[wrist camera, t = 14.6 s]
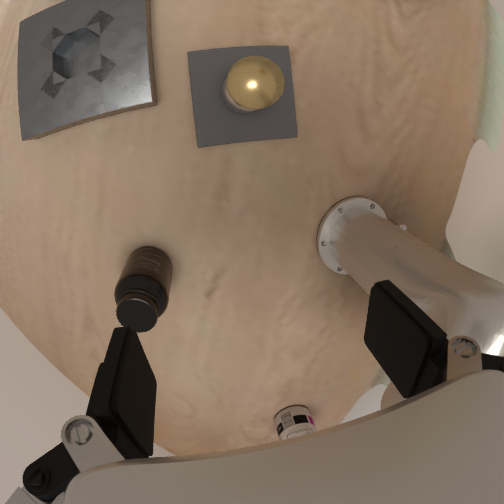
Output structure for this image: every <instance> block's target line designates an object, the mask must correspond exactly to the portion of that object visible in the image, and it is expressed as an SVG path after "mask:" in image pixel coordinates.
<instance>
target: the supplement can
mask: <svg viewBox="0 0 504 504" xmlns="http://www.w3.org/2000/svg"><path fill="white" fill-rule="evenodd" d="M275 425H276V429H277V432H278V436H279V439H280V440H285V439H289V438H293V437H297V436H301V435H305V434H309V433H312V432H316V431H317V430H316V427H315V425H314V422H313V420H312V417H311V415H310V412H309V410H308V409H307V408H305V407H302V406H292V407H288V408H286V409H284V410H282V411H281V412H279V413H278V415H277V416H276V418H275Z"/></svg>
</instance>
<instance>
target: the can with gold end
mask: <svg viewBox="0 0 504 504" xmlns="http://www.w3.org/2000/svg"><path fill="white" fill-rule="evenodd" d="M284 86H285V81H284V76H283V73H282V71H281V69H280V68H279V67H278V65H277V64H275V63H274V62H273V61H272V60H270V59H268V58H265V57H262V56H248V57H244V58H242V59H240V60H238V61H237V62H236V63H235V64H234V65H233V66H232V67H231V69H230V71H229V73H228V75H227V78H226V79H225V81H224V83H223V85H222V88H221V98H222V101H223V103H224V104H225V106H226V107H227V108H228V109H230V110H231V111H233V112H236V113H240V114H246V113H251V112H253V111H256V110H258V109H263V108H266V107H269V106H271V105H273V104H274V103H275V102H277V101H278V100H279V98H280V97H281V95H282V93H283V91H284Z"/></svg>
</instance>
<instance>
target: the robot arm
mask: <svg viewBox="0 0 504 504" xmlns="http://www.w3.org/2000/svg"><path fill="white" fill-rule="evenodd" d="M338 209H339V210H338ZM322 241H323V242H322ZM321 242H322V243H321ZM317 249H318V253H319V256H320V258H321V259H322V261H323V262H324V264H325V265H326V266H327V267H328V268H329V269H331V270H332V271H334V272H336V273H338V274H343V275H350V276H351V277H352V278H353V279H354V280H355V281H356V282H357V284H358V285H359V286H360V287H361V288H362V289H363V290H364V291H365V292H366V293H367V294H368V295H369V296H370V299H369V307H368V314H367V321H366V328H365V334H364V341H365V344H366V346H367V347H368V349H369V350H370V351H371V353H372V354H373V356H374V357H375V358H376V360H377V361H378V363H379V364H380V365H381V367H382V368H383V370H384V371H385V373H386V374H387V375H388V377H389V378H390V380H391V382H390V384H389V385H388V387H387V388H386V390H385V392H384V394H383V396H382V400H381V410H379V411H376V412H374V413H372V414H369V415H366V416H363V417H360V418H357V419H354V420H351V421H349V422H345V423H342V424H339V425H336V426H333V427H330V428H326V429H323V430H319V431H316V432H312V433H309V434H305V435H301V436H297V437H293V438H289V439H285V440H280V441H276V442H271V443H266V444H261V445H256V446H251V447H245V448H239V449H233V450H226V451H219V452H211V453H202V454H193V455H183V456H171V457H154V458H149V456H152V455H153V439H154V418H155V402H156V389H157V383H156V378H155V376H154V374H153V371H152V369H151V367H150V365H149V362H148V360H147V358H146V355H145V353H144V350H143V348H142V345H141V343H140V340H139V338H138V335H137V333H136V331H135V330H131V328H130V327H129V326H126V327H118V328H115V329H114V331H113V334H112V337H111V340H110V343H109V346H108V350H107V353H106V356H105V359H104V362H102V363H101V364H100V366H99V368H98V372H97V375H96V378H95V382H94V385H93V389H92V393H91V396H90V400H89V404H88V408H87V412H86V415H79V416H75V417H73V418H71V419H69V420H68V421H67V422H66V423H65V424H64V426H63V428H62V431H61V438H62V441H63V442H61V443H60V444H59V445H57V446H56V447H54V448H53V449H52V450H50V451H49V452H47V453H46V454H45V455H43V456H42V457H40V458H39V459H37V460H36V461H34V462H33V463H31V464H30V465H29V466H28V467H27V468H26V469H25V471H24V474H23V484H24V486H23V487H22V489H21V488H20V487H18V488H17V489H16V491H15V492H14V493H13V494H12V496H11V497H10V498H9V499H8V501H7V502H6V503H5V504H504V284H503V283H501V282H499V281H497V280H494V279H492V278H490V277H487V276H485V275H483V274H481V273H479V272H476V271H474V270H472V269H470V268H468V267H466V266H464V265H462V264H460V263H458V262H457V261H455V260H453V259H451V258H450V257H448V256H446V255H445V254H443V253H441V252H440V251H438V250H437V249H435V248H433V247H432V246H430V245H428V244H427V243H425V242H423V241H422V240H420V239H418V238H417V237H415V236H413V235H412V234H410V233H408V232H407V231H406V225H405V224H397V225H396V224H394V223H392V222H390V221H389V220H388V219H387V216H386V214H385V212H384V211H383V209H382V208H381V207H380V206H379V205H378V204H377V203H376V202H374V201H372V200H370V199H367V198H365V197H350V198H347V199H344V200H342V201H341V202H339V203H337V204H336V205H335V206H333V207H332V208H331V209H330V210H329V211H328V212H327V214H326V215H325V217H324V218H323V220H322V222H321V224H320V227H319V229H318V234H317Z"/></svg>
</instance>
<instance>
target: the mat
mask: <svg viewBox="0 0 504 504" xmlns="http://www.w3.org/2000/svg"><path fill="white" fill-rule="evenodd" d="M248 56H262V57H265V58H268V59H270V60H272V61H273V62H274V63H275V64H277V65H278V67H279V68H280V69H281V71H282V73H283V76H284V81H285V86H284V91H283V93H282V95H281V97H280V98H279V100H278V101H277V102H275V103H274V104H273V105H271V106H269V107H266V108H263V109H258V110H256V111H253V112H251V113H246V114H240V113H236V112H233V111H231V110H230V109H228V108H227V107H226V106H225V104H224V103H223V101H222V98H221V88H222V85H223V83H224V81H225V79H226V78H227V75H228V73H229V71H230V69H231V67H232V66H233V65H234V64H235V63H236V62H237V61H238V60H240V59H242V58H244V57H248ZM188 62H189V72H190V82H191V92H192V101H193V110H194V119H195V127H196V136H197V144H198V148H200V147H207V146H214V145H221V144H229V143H238V142H247V141H256V140H267V139H279V138H294V137H298V136H297V124H296V113H295V102H294V92H293V82H292V73H291V64H290V55H289V47H288V46H246V47H230V48H218V49H208V50H199V51H192V52H188Z"/></svg>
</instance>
